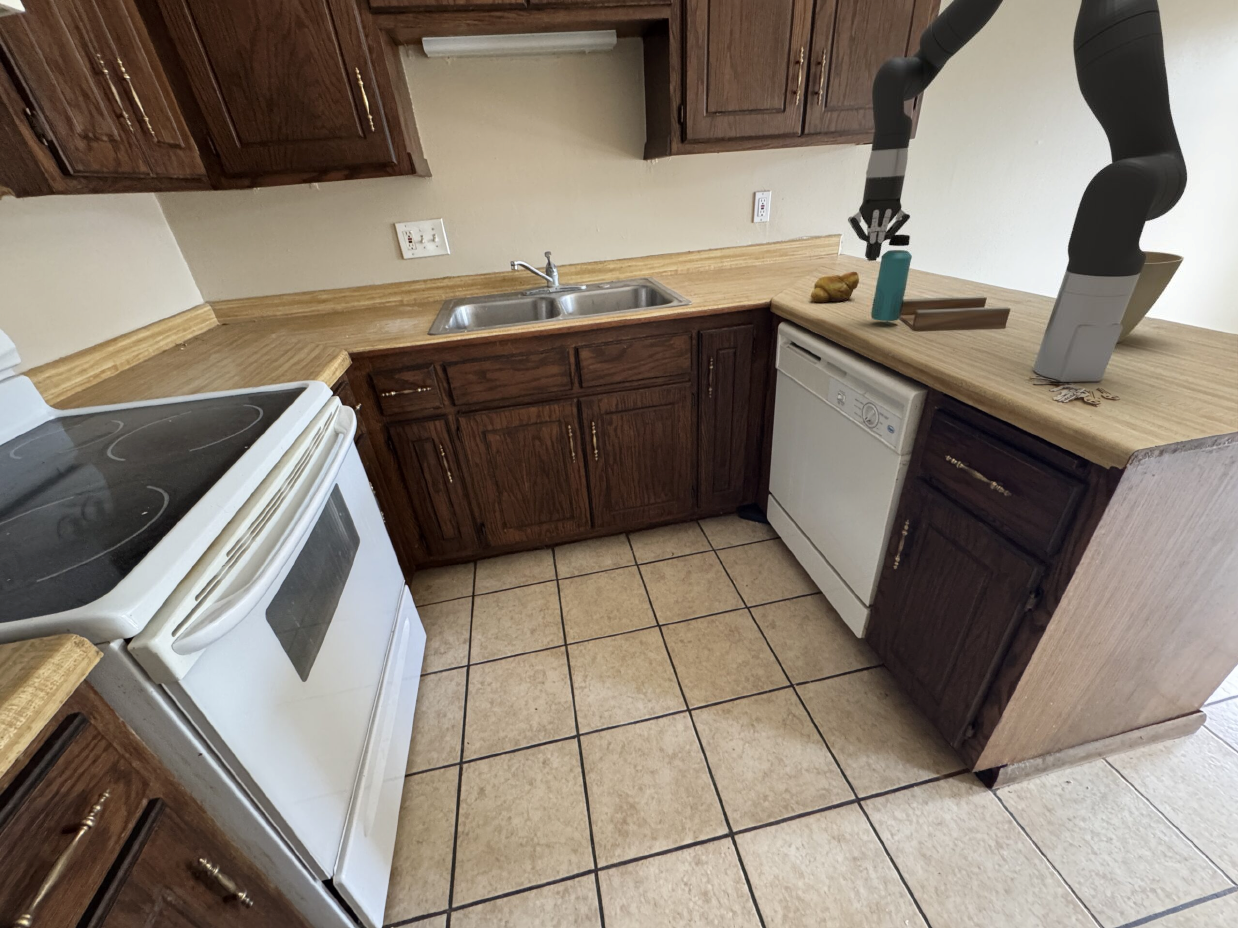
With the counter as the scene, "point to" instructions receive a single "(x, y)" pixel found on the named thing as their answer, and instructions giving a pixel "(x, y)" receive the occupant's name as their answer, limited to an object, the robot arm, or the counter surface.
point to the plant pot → (1149, 288)
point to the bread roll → (835, 287)
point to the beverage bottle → (892, 281)
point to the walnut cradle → (952, 314)
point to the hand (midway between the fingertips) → (871, 260)
